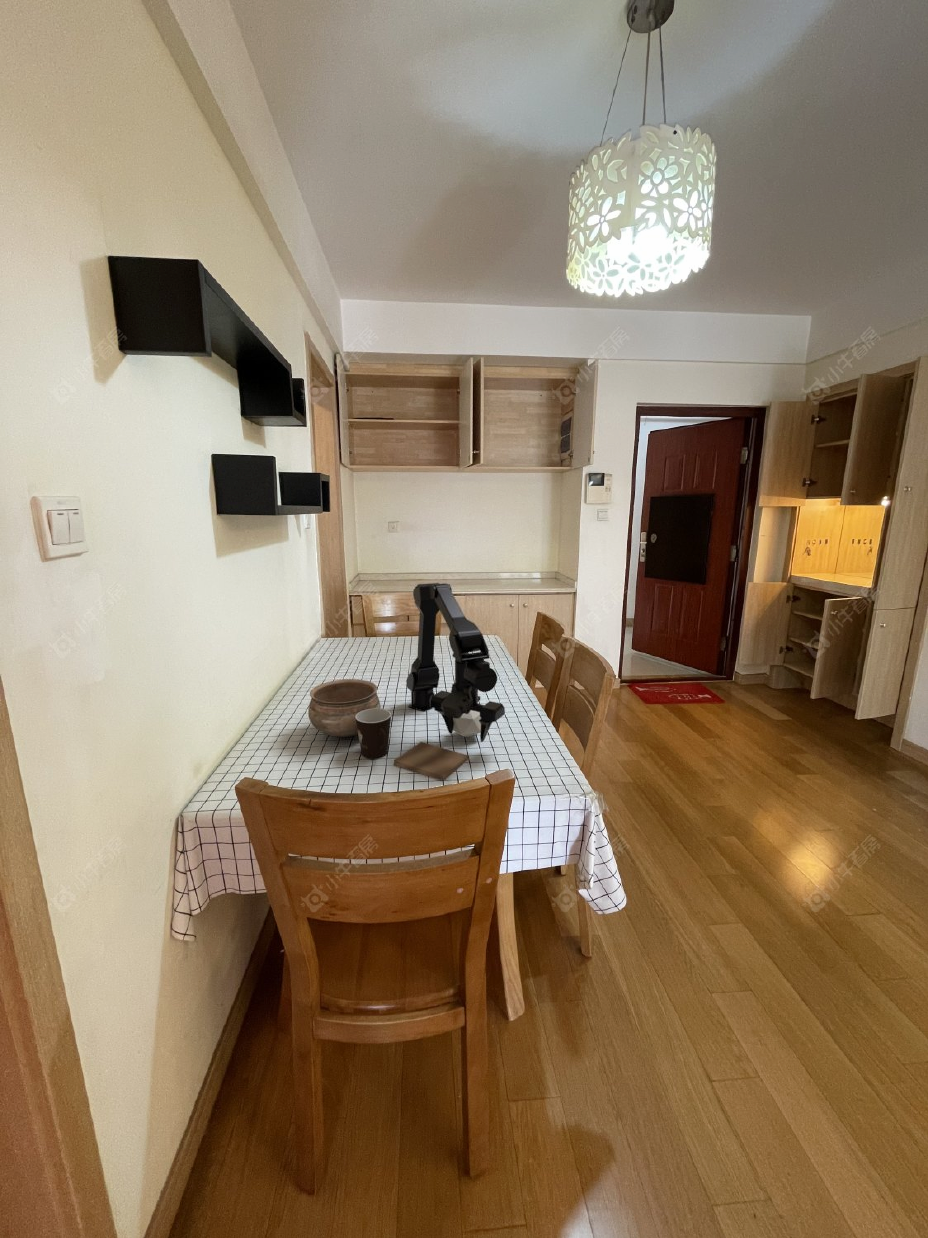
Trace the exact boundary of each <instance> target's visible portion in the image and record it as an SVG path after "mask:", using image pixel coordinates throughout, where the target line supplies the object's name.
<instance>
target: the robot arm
mask: <svg viewBox="0 0 928 1238" xmlns="http://www.w3.org/2000/svg"><path fill="white" fill-rule="evenodd" d="M412 593H413V599H414V605H415V606H416V608H417V610H418V611H419V620H418V621H419V622H418V640H417V642H418V643H417V656H416V658H415V659H414V661H413V662H412V663H411V669H410V672H409V674H408V676H407V678H406V680H405V682H406V688H407V689H408V690H409V691H410V694H411V695H410V696H411V697H410V698H411V702H410V703H411V704H409V705H408V708H409V709H414V710H417V711H421V712H427V711H429V710H430V709H434V711H435V712H437V713H438V714H440V715H441V717H442V718H443V721H444V724H445V725H446V729H447V731H448V734H450V735H451V734H452V733H453V732H454V731H453V727H454V722H453V717H454V718H460V717H461V716H462V714H464V713H465V714H469V712H470V711H471V710H472V711H476V712H480V717H481V719H480V720H479V722H480V723H481V733H479V734H480V735H479V737H480V739H479V740H480V742H481V743H483V742H484V741H485V739H486V737H487V735H488V732H489V730H490V727H491V726H492V724H493V723H495V722H497V721H498V720H500V719H501V718H502V717H503V716H505V710H506V709H505V705H503V703H500V702H495V701H491V700H489V701H488V702H487V703H486V704H482V703H479V702H480V701H481V696H480V695H479V692H481V693H488V692H490V691H491V690H493V689H494V688H495V686H496V685H497V683H498V675H497V672H496V671H495V670H494V669H493V668H492V667H490V666H491V664H490V662H489V661H485V660H487V659H490V654H489V652H490V649H489V647H488V645H487V642H486V640H485V637H484V635H483V633H482V631H481V630H480V629H479V627H478V626H477V625H476V623H474V622H472V621H471V620H469V619H468V618H467V617H466V616H465V614H464V611H463V610H462V608H461V606H460V604H459V602H458V601H457V599H456V597H455V596H454V594H453V592H452V586H451V584H449V583H444V582H443V583H440V582H432V583H418V584H417V585H416V586H415V587H414V589H413V592H412ZM439 612H440V613H441V615H442V617H443V619H444V621H445V624H446V625H447V627H448V630H449V635H448V640H449V646H450V649H451V650H452V654H451V655H452V658H453V659H454V683H452V686H451V691H445V690H440V691H438V692H436V693H435V692H434V689H436V688H438V687H439V680H440V669H439V667H438V665H437V664H436V662H435V660H434V657H435V656H434V654H435V640H436V637H435V636H436V625H437V614H438V613H439Z"/></svg>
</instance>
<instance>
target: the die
mask: <svg viewBox="0 0 928 1238" xmlns="http://www.w3.org/2000/svg"><path fill="white" fill-rule="evenodd" d="M480 719H481V717H480V712H476V711H472V710H471V711H470V712H469V714H465V713H464V714H462V716H461V717H460V718H454V717H453V722H454V727H453V732H455V733H457V734H459V736H460V735H461V736H462V737H464V738H466V739H467V738H470V737H473V736H475V735H478V734H480V733H481V723H480V722H479V720H480Z"/></svg>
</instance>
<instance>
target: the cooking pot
mask: <svg viewBox="0 0 928 1238" xmlns="http://www.w3.org/2000/svg"><path fill="white" fill-rule="evenodd" d="M377 691H378V686H377V685H376V684H375V683H374V682H372V681H369V680H365V679H356V678H354V679H353V678H349V679H347V678H346V679H336V680H332V681H326V682H323V683H321V684H318V685H317V686H314V687H313V688H312V689H311V690H310V692H309V696H310V698H311V699H310V701H309V705H308V708H307V709H308V710H307V711H308V713H307V714H308V719H309V721H310V723H311V724H312V726H313V727H314V728H315V729H316V730H318V731H319V732H321V733H323V734H325V735H328V736H332V737H336V738H339V739H349V738H353V737H355V736H357V735H358V730H357V724H356V718H355V716H356V714H357V713H359V712H361V711H363V710H367V709H374V708H378V709H382V708H381V702H380V698H379V696H378V694H377Z"/></svg>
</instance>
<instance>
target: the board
mask: <svg viewBox="0 0 928 1238" xmlns="http://www.w3.org/2000/svg"><path fill="white" fill-rule="evenodd" d="M468 761H469V755H468V754H465V753H461V752H457V751H454V750H451V749H447V748H444V747H441V746H437V745H434V744H430V743H427V742H424V741H423V742H422V741H420V742H419V743H417V744H415V745H414V746H413V747H411V748H409V749H408V750H407V751H405V752H404V753H403V754H401V755H399V756H398V757H397V758H395V759H394V760H393V765H394V766H396V767H399V768H401V769H406V770H409V771H412V772H414V773H418V774H421V775H424V776H426V777H430V778H433V779H436V780H439V781H442V782H445V781H446V780H447V779H448V778H450V776H452V775H453V774H454V773H455V772H456V771H458V769H460V768H461V767H462V766H463V765H464V764H465V763H466V762H468Z"/></svg>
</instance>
